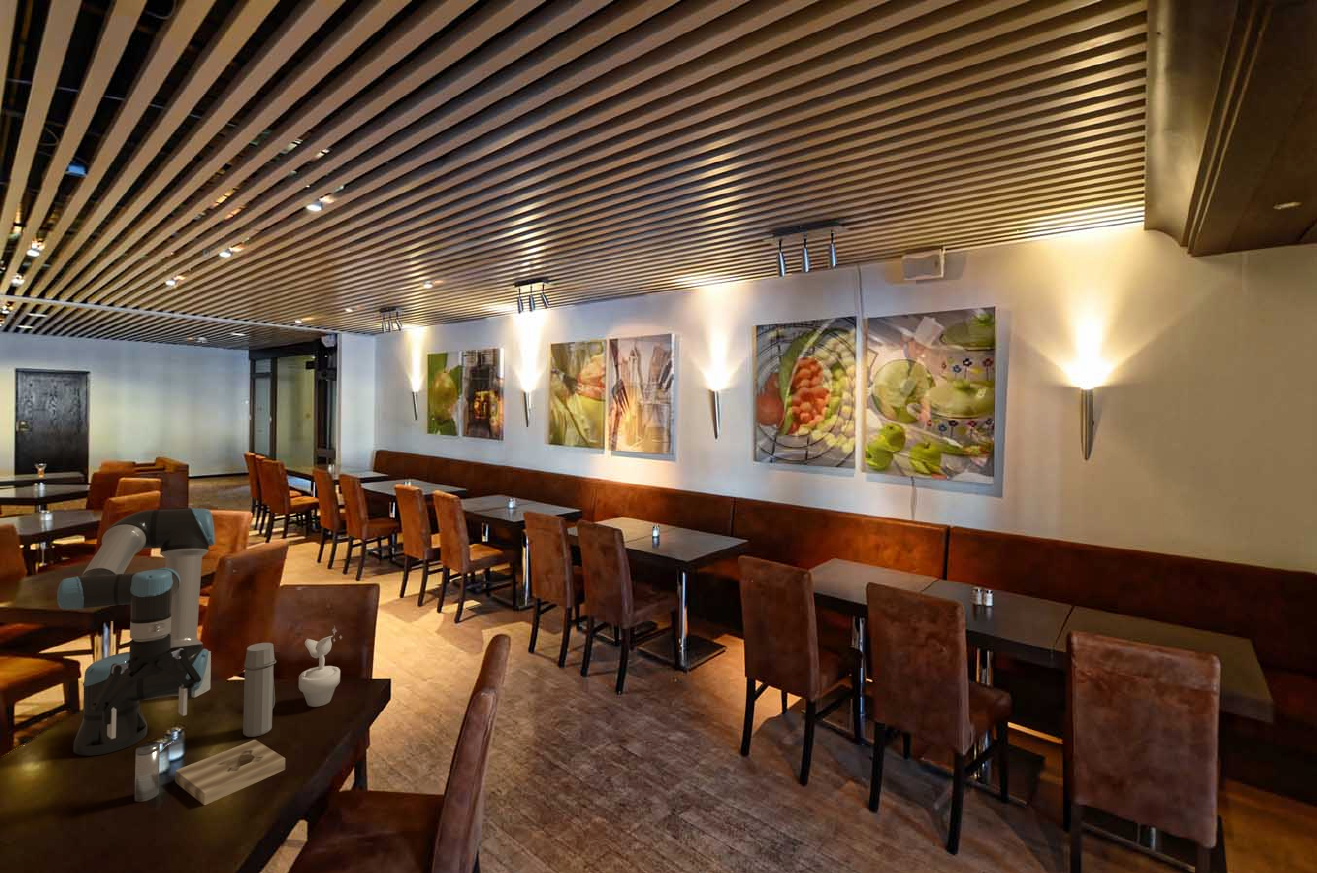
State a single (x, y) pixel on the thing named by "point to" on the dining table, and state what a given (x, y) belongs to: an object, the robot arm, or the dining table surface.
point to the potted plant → (319, 674)
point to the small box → (204, 679)
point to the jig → (229, 771)
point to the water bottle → (258, 689)
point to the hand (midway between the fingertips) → (148, 725)
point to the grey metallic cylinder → (147, 771)
